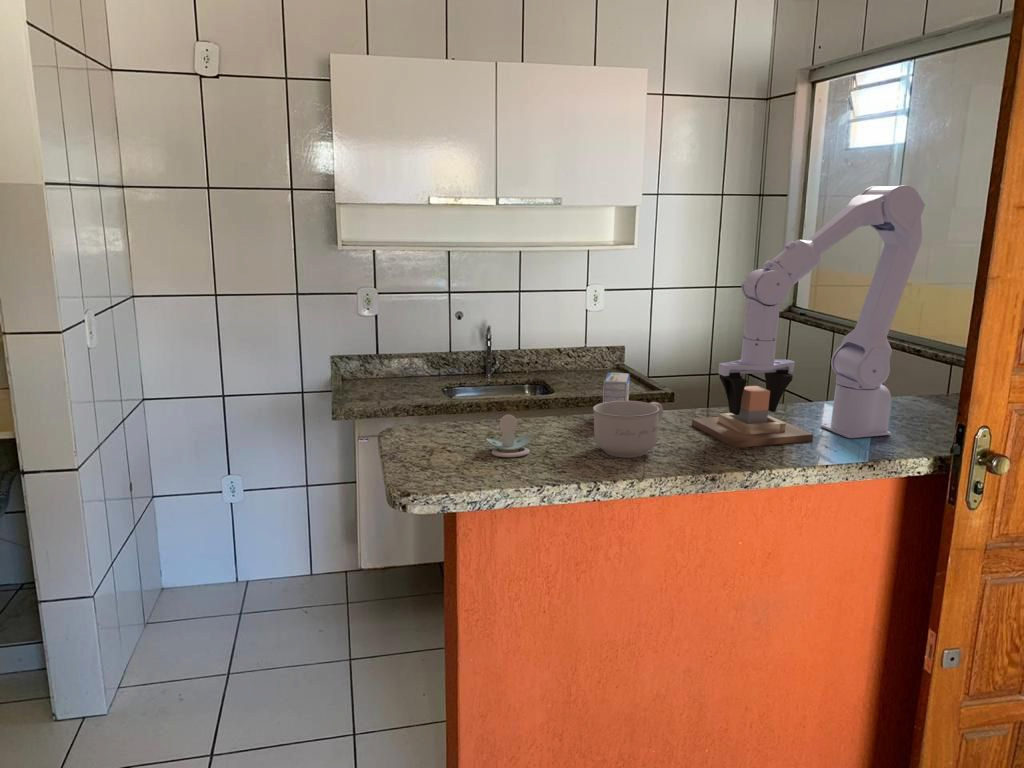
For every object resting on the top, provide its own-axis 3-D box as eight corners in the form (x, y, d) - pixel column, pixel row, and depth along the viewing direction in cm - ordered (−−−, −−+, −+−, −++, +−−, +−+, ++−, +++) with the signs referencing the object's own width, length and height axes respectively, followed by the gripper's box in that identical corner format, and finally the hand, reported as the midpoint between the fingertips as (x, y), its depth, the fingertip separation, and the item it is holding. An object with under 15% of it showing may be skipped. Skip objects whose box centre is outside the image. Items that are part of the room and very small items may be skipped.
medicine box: (625, 428, 141) (628, 382, 139) (601, 426, 141) (603, 380, 139) (627, 416, 148) (630, 373, 146) (604, 414, 149) (607, 371, 147)
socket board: (764, 419, 148) (765, 405, 147) (812, 440, 135) (814, 426, 134) (691, 425, 143) (692, 411, 142) (734, 448, 130) (736, 432, 130)
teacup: (615, 467, 120) (618, 418, 118) (578, 447, 129) (580, 401, 127) (685, 455, 126) (688, 408, 124) (645, 437, 135) (648, 393, 133)
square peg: (753, 422, 141) (756, 385, 140) (766, 428, 138) (770, 390, 136) (734, 423, 140) (737, 386, 139) (747, 429, 137) (751, 392, 135)
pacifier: (535, 458, 124) (525, 445, 129) (537, 421, 122) (526, 410, 128) (492, 461, 122) (483, 448, 127) (492, 424, 120) (484, 413, 126)
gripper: (780, 333, 141) (772, 403, 144) (711, 335, 136) (705, 408, 140) (805, 339, 134) (797, 413, 137) (734, 342, 130) (727, 419, 133)
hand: (752, 412), depth 138 cm, fingers open, 7 cm apart
